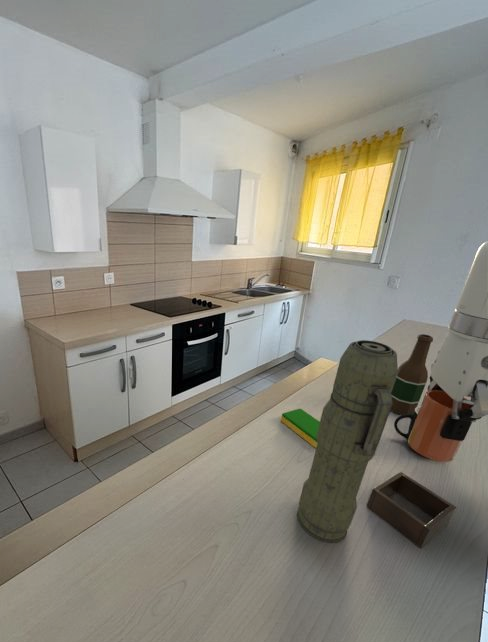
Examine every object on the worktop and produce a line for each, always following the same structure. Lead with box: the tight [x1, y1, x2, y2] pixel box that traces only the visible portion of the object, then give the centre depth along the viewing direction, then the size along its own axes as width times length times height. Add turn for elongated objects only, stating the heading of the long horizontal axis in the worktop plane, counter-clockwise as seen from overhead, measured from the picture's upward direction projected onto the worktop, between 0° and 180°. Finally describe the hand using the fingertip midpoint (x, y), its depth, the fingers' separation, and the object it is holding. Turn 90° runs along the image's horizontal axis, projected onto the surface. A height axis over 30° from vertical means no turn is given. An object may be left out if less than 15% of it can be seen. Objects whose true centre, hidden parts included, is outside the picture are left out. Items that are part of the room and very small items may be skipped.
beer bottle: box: [390, 333, 434, 416], centre depth 94 cm, size 8×8×24 cm
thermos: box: [296, 339, 399, 544], centre depth 53 cm, size 9×12×35 cm
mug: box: [393, 405, 426, 458], centre depth 80 cm, size 12×9×10 cm
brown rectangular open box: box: [366, 471, 457, 549], centre depth 61 cm, size 10×10×4 cm
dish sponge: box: [280, 408, 320, 449], centre depth 85 cm, size 7×14×2 cm, turn 28°
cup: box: [407, 390, 469, 463], centre depth 55 cm, size 7×7×10 cm
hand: (440, 424), depth 55 cm, fingers closed on cup, 6 cm apart
